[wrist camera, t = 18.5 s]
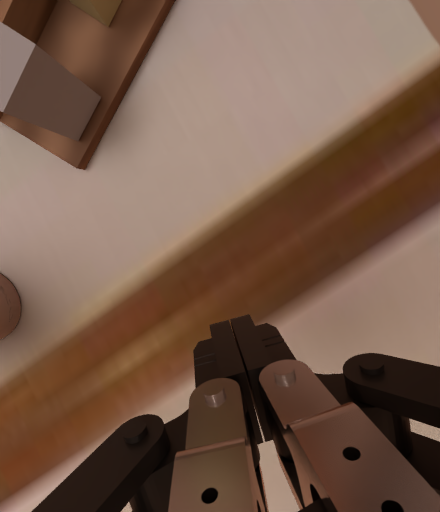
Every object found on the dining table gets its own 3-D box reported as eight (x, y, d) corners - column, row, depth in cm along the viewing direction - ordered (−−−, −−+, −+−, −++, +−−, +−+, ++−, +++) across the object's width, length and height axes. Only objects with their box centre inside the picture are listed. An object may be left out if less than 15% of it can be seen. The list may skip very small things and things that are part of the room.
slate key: (101, 97, 34) (35, 44, 23) (78, 141, 35) (2, 112, 23) (66, 74, 34) (-19, 9, 22) (43, 119, 35) (-51, 79, 23)
